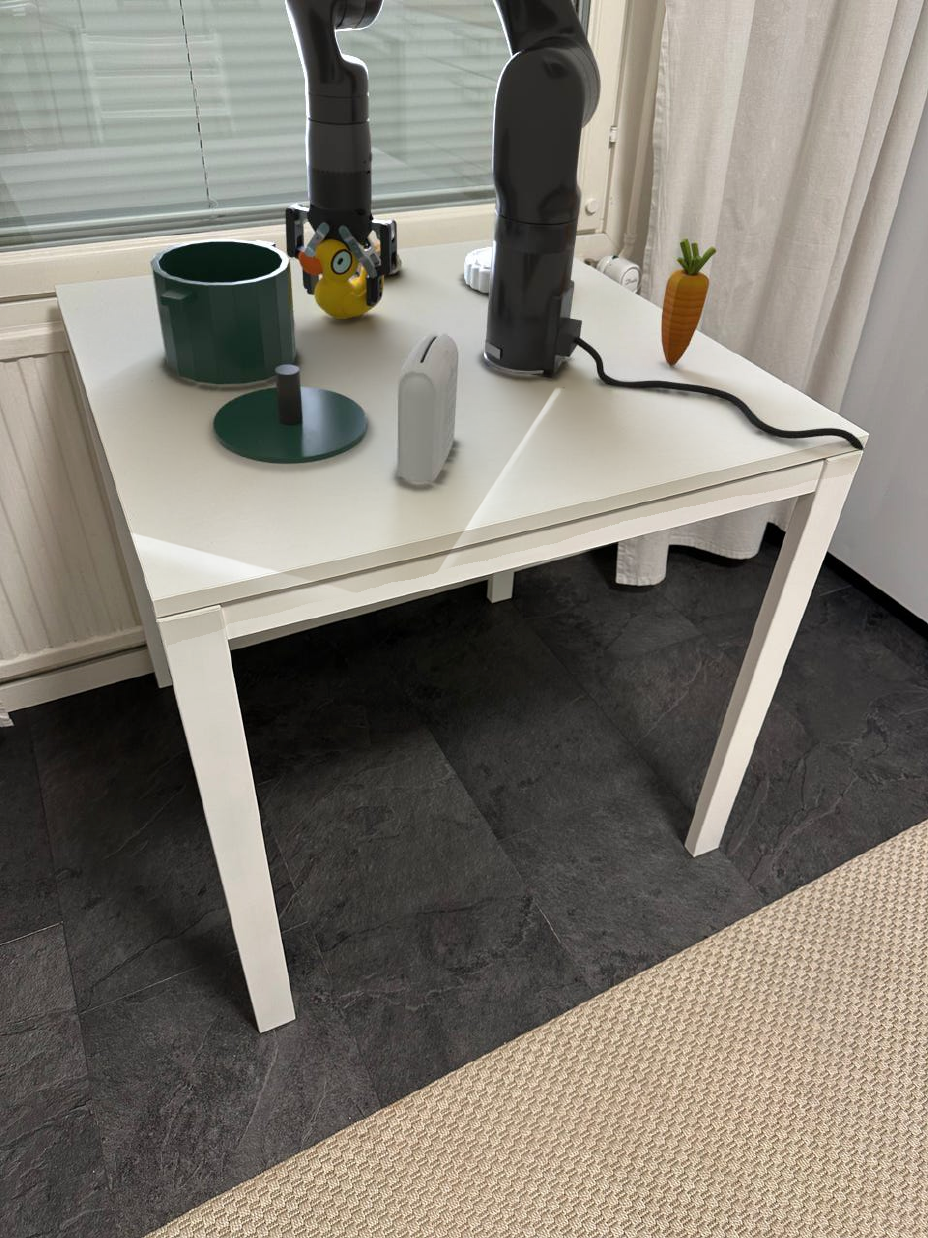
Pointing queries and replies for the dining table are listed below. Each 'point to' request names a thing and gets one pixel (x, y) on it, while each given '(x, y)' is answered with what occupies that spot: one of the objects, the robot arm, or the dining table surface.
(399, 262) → the pastry
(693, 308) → the carrot
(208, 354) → the pot
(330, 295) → the duckling
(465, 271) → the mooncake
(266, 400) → the lid
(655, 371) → the dining table surface
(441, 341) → the photo printer
